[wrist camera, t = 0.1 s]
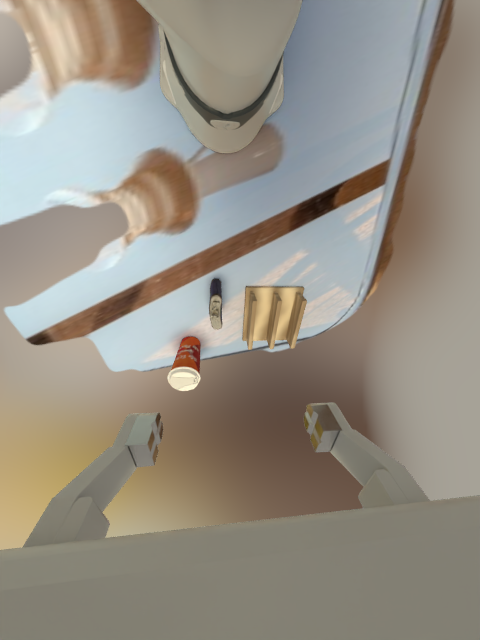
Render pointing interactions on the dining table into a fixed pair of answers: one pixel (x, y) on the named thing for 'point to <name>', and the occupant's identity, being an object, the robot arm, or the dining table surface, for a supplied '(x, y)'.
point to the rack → (273, 314)
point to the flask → (215, 304)
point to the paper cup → (186, 365)
